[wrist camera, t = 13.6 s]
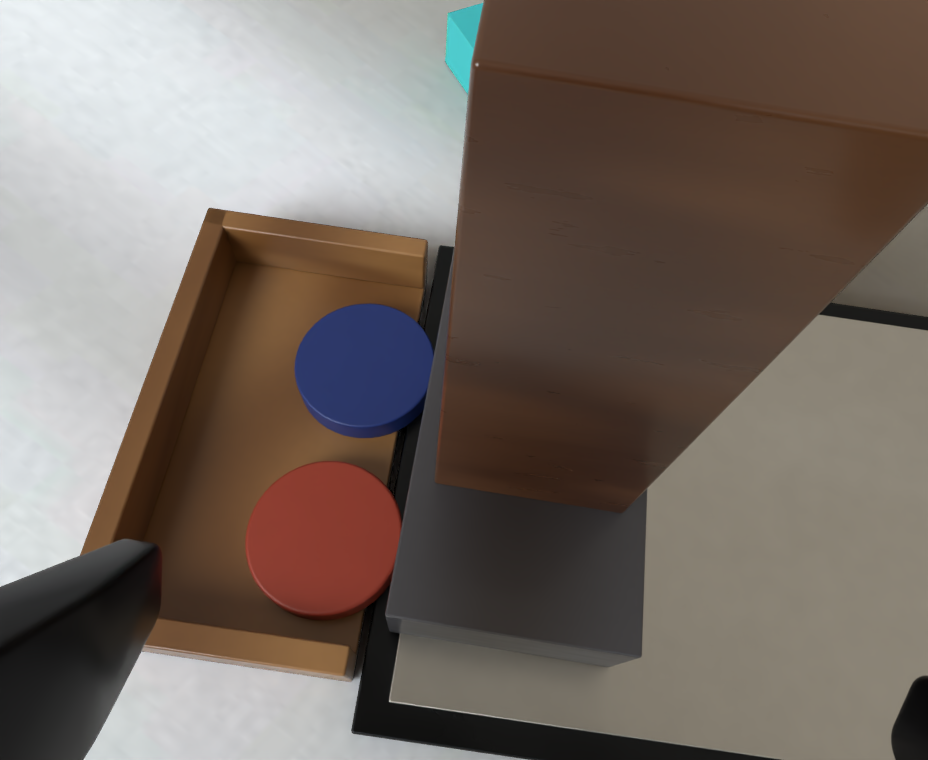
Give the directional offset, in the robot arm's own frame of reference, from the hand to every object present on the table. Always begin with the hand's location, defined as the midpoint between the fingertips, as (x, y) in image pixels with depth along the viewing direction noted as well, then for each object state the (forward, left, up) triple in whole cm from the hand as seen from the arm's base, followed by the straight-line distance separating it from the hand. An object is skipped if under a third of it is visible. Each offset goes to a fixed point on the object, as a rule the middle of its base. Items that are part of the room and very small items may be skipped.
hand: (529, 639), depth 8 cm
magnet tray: (+3, +7, -9) cm, 12 cm away
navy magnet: (+5, +6, -8) cm, 12 cm away
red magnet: (+1, +5, -8) cm, 9 cm away
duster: (+5, +1, -8) cm, 10 cm away
